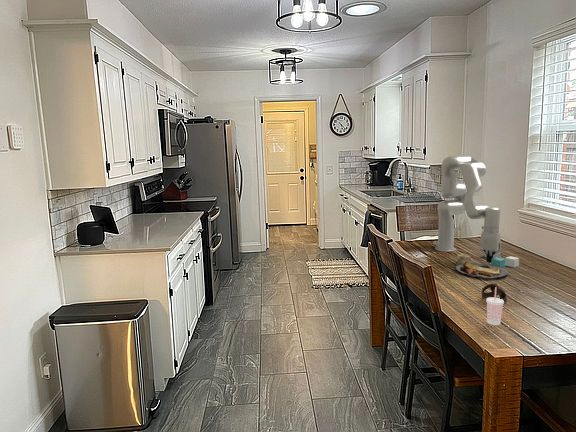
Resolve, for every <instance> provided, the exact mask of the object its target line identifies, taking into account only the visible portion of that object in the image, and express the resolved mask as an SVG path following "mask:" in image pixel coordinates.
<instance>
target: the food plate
mask: <svg viewBox="0 0 576 432" xmlns="http://www.w3.org/2000/svg"><path fill="white" fill-rule="evenodd" d="M454 269H455V270H456V272H458V273H459V272H460V273H461V274H466V275H467V276H469V277H471V278H479V279H481V278H483V279H484V278H485V279H494V278H502V277H504V276H506V275H508V274H509V272H508V270H506V269H505V268H500V267H496V266H494V265H491V264H488V263H478V262H476V263H475V262H470V263H469V262H465V263H464V264H459V263H458V264H457V265H455V266H454ZM477 272H478V273H477ZM477 275H479V276H477ZM489 276H490V277H489Z"/></svg>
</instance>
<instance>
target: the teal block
mask: <svg viewBox="0 0 576 432" xmlns="http://www.w3.org/2000/svg"><path fill="white" fill-rule="evenodd" d="M490 265H494V266H496V267H500V268H503V269H505V268H506V266H505V258H501V257H500V258H497V257H496V258H493V259H491V262H490Z"/></svg>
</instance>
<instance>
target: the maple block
mask: <svg viewBox="0 0 576 432" xmlns="http://www.w3.org/2000/svg"><path fill="white" fill-rule="evenodd" d="M456 257H457V258H456V263H457V264H458V265H459V264H464V263H465V262H469V263H471V255H468V254H464V253H462V254H458V255H457V256H456Z"/></svg>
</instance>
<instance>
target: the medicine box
mask: <svg viewBox="0 0 576 432" xmlns="http://www.w3.org/2000/svg"><path fill="white" fill-rule="evenodd" d="M501 248H502V247H501ZM501 248H500V253H498V254H494V255H493V258H496V257H497V258H501V250H502V249H501ZM483 257H484V258H486V254H485V252H484V251H483Z"/></svg>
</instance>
